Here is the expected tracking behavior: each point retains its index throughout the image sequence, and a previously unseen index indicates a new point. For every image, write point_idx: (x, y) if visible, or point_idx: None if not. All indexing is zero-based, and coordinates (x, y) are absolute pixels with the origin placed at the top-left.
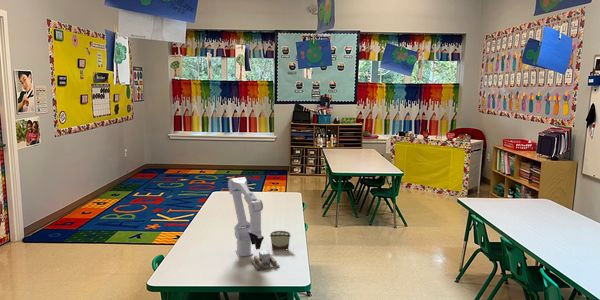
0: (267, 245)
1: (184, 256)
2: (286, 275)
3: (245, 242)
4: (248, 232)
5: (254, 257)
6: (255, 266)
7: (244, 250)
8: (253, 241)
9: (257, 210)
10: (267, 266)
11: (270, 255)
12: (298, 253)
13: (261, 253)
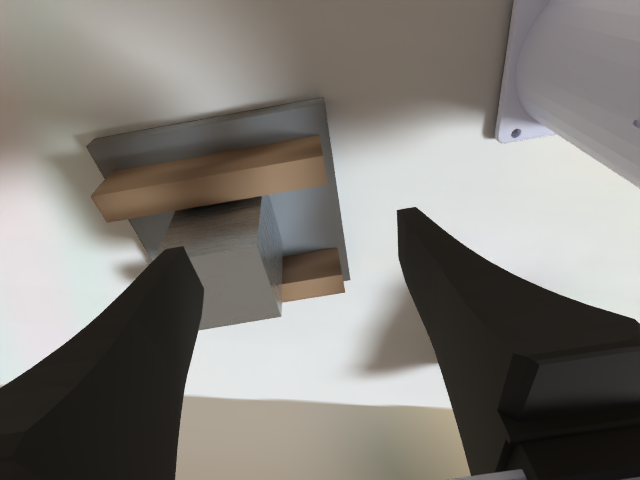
0: (615, 269)
1: None
2: (41, 318)
3: (633, 107)
4: (576, 362)
5: (306, 153)
6: (170, 129)
7: (557, 55)
8: (413, 264)
9: None
10: (159, 232)
11: (302, 294)
12: (383, 392)
13: (195, 264)
